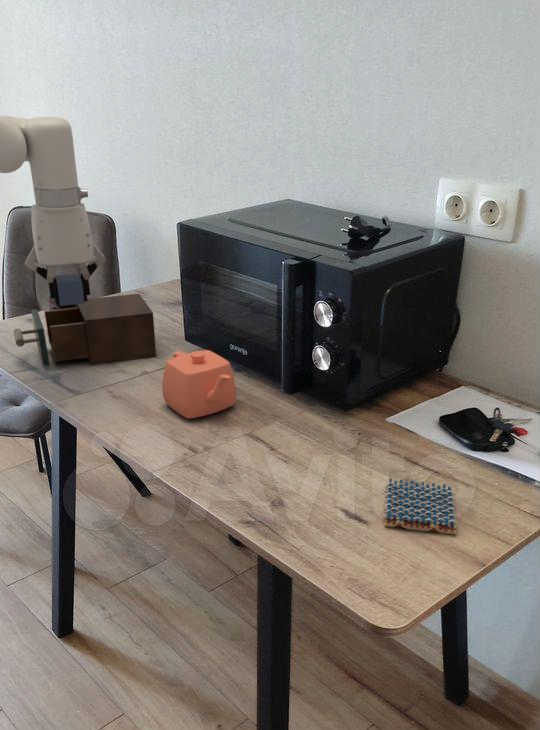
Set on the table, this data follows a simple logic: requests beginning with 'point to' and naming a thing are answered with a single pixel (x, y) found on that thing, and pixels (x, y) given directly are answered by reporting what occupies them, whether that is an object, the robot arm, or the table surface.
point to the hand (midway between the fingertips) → (70, 299)
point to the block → (70, 289)
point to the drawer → (58, 335)
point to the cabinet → (118, 328)
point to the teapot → (198, 383)
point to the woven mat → (420, 507)
